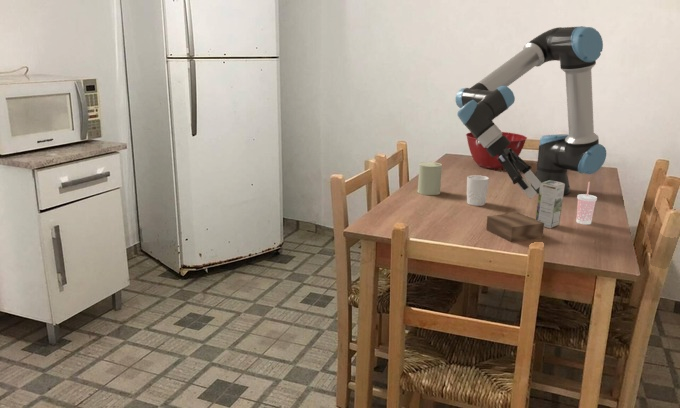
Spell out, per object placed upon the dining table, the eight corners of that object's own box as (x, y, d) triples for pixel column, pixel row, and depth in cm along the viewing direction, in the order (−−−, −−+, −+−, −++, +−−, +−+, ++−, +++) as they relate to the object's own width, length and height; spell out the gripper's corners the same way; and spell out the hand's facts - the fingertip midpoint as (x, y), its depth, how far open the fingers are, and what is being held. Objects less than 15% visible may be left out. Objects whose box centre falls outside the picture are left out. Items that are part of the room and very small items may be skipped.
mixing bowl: (531, 173, 259) (535, 140, 255) (470, 172, 259) (473, 139, 255) (514, 161, 286) (517, 131, 282) (458, 160, 287) (461, 130, 282)
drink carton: (543, 221, 186) (547, 179, 182) (559, 225, 182) (565, 182, 178) (534, 224, 183) (539, 182, 179) (551, 229, 178) (557, 185, 175)
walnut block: (516, 227, 181) (517, 212, 180) (542, 238, 171) (544, 223, 169) (486, 231, 177) (487, 216, 176) (510, 243, 166) (512, 227, 165)
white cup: (482, 207, 202) (485, 180, 199) (462, 204, 206) (464, 178, 203) (489, 202, 208) (491, 176, 206) (469, 199, 212) (471, 174, 210)
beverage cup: (581, 218, 190) (586, 178, 186) (597, 223, 185) (603, 182, 181) (569, 221, 187) (575, 180, 183) (586, 226, 182) (592, 184, 178)
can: (440, 196, 217) (442, 165, 214) (416, 194, 219) (418, 164, 216) (440, 190, 226) (442, 161, 223) (418, 188, 228) (419, 160, 224)
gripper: (492, 143, 195) (532, 190, 193) (476, 154, 174) (521, 207, 171) (509, 129, 192) (550, 177, 189) (495, 139, 170) (541, 193, 168)
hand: (536, 191), depth 180 cm, fingers open, 13 cm apart
